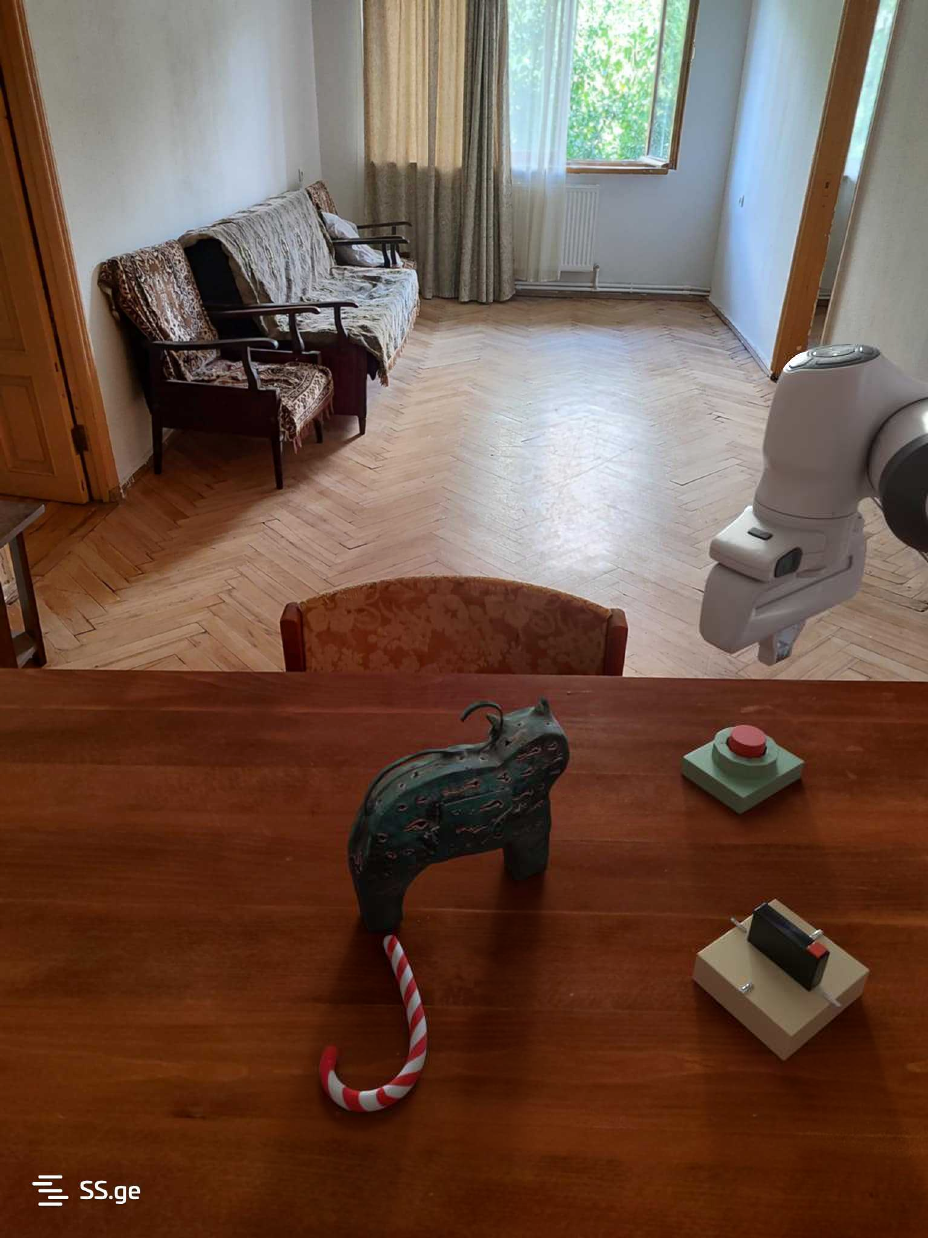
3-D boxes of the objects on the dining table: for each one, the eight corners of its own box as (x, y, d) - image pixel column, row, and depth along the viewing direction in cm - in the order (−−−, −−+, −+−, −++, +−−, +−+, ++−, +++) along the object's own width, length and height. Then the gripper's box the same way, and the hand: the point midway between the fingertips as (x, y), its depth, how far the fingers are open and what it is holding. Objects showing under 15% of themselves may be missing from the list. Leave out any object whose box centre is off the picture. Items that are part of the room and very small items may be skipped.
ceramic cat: (538, 836, 86) (551, 663, 76) (573, 881, 81) (591, 703, 71) (345, 901, 79) (330, 720, 69) (370, 956, 74) (358, 769, 64)
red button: (743, 734, 95) (745, 721, 94) (770, 751, 93) (773, 737, 92) (721, 746, 93) (723, 732, 92) (748, 763, 91) (751, 750, 90)
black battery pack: (746, 940, 72) (754, 908, 70) (758, 932, 73) (766, 899, 71) (809, 992, 68) (819, 959, 66) (821, 983, 68) (831, 950, 67)
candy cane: (429, 931, 75) (424, 1104, 61) (429, 942, 75) (425, 1115, 62) (337, 932, 74) (313, 1105, 61) (338, 943, 75) (314, 1116, 62)
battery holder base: (764, 917, 78) (770, 892, 76) (868, 999, 71) (878, 973, 69) (685, 974, 73) (690, 948, 71) (789, 1068, 65) (797, 1042, 64)
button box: (740, 740, 100) (746, 711, 98) (800, 777, 94) (808, 748, 92) (680, 773, 95) (685, 743, 93) (739, 814, 89) (746, 784, 87)
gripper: (837, 494, 88) (810, 616, 94) (697, 545, 77) (678, 678, 84) (896, 514, 83) (864, 641, 90) (756, 571, 73) (731, 709, 79)
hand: (773, 659), depth 87 cm, fingers closed
